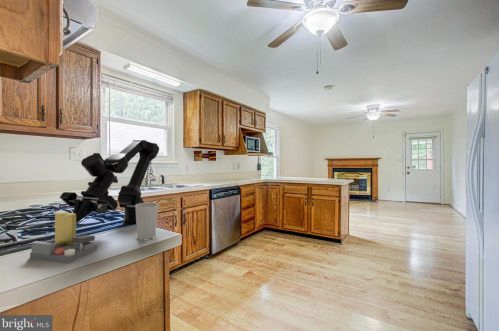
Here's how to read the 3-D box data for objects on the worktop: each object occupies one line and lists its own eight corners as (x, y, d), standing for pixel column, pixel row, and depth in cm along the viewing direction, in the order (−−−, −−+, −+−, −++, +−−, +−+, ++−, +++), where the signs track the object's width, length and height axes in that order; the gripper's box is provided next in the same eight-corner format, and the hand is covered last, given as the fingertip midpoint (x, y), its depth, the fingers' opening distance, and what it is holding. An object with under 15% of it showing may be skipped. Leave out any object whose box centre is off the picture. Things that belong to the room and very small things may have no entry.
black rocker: (85, 239, 77) (86, 235, 78) (94, 240, 77) (95, 236, 77) (71, 242, 72) (72, 237, 73) (81, 243, 72) (81, 238, 72)
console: (62, 245, 79) (62, 230, 79) (96, 249, 77) (96, 234, 77) (30, 257, 70) (30, 241, 69) (68, 263, 68) (68, 246, 67)
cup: (141, 242, 85) (142, 208, 84) (130, 237, 89) (131, 204, 89) (162, 236, 91) (163, 205, 90) (150, 232, 96) (151, 201, 95)
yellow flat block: (60, 241, 78) (60, 211, 78) (77, 243, 77) (77, 213, 77) (53, 243, 76) (53, 213, 75) (70, 245, 75) (70, 215, 74)
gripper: (133, 199, 94) (112, 237, 84) (90, 195, 97) (65, 231, 87) (119, 181, 86) (94, 220, 76) (73, 177, 89) (43, 215, 79)
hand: (74, 222), depth 79 cm, fingers closed
